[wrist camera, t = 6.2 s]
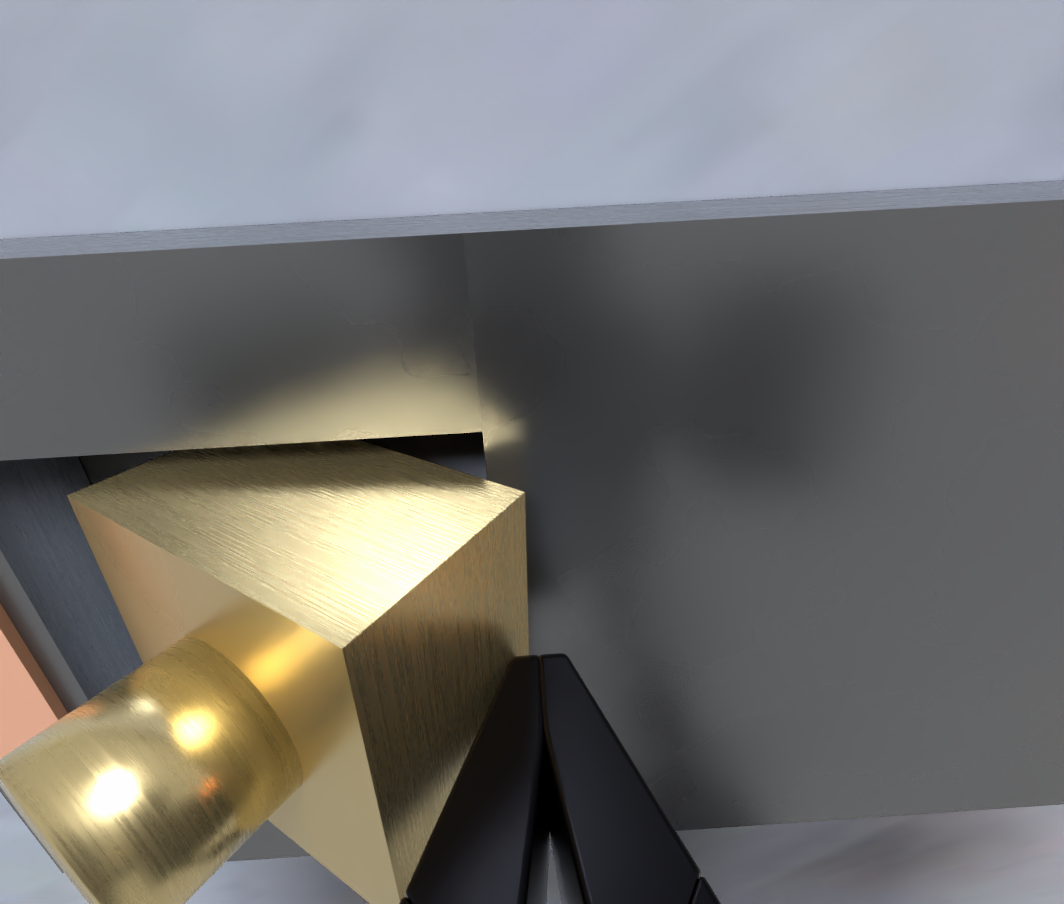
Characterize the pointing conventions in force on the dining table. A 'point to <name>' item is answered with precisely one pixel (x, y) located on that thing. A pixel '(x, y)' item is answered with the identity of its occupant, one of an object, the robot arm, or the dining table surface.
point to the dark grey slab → (623, 462)
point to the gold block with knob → (279, 665)
